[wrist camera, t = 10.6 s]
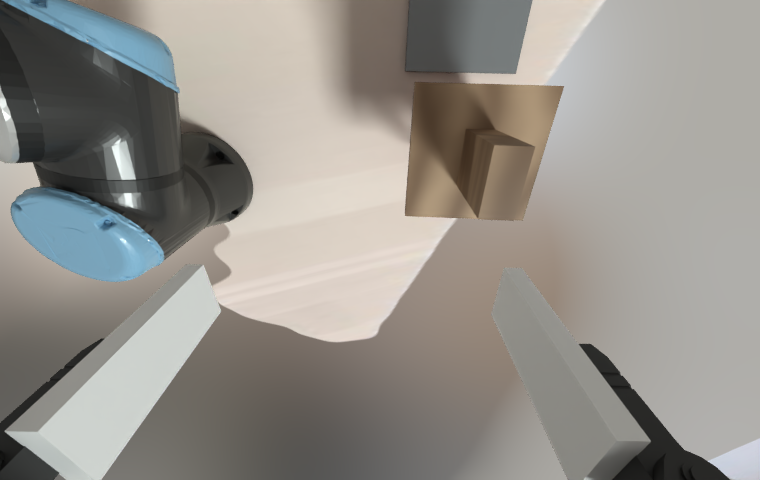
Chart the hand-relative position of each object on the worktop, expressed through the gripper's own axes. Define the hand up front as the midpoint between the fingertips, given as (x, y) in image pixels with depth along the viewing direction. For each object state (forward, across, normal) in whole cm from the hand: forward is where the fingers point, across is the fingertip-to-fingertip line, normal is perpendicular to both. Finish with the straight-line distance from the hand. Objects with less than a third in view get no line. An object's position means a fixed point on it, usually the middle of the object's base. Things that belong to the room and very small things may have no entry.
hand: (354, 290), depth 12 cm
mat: (+35, +12, +17) cm, 41 cm away
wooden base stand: (+22, +11, +1) cm, 24 cm away
